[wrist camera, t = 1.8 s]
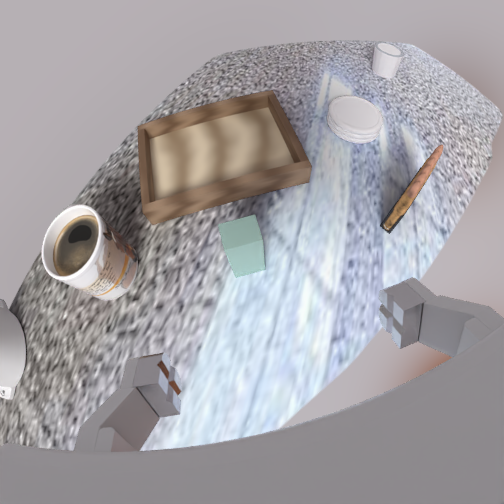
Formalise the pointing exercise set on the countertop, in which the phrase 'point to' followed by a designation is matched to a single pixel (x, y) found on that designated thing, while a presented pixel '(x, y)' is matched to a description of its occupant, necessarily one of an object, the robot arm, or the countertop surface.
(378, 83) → the countertop surface
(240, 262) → the grey-green rectangular block
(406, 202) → the ammunition clip
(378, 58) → the white cylinder
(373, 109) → the white round disc stack
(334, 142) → the countertop surface
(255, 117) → the wooden serving tray
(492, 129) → the countertop surface
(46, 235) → the mug
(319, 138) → the countertop surface
